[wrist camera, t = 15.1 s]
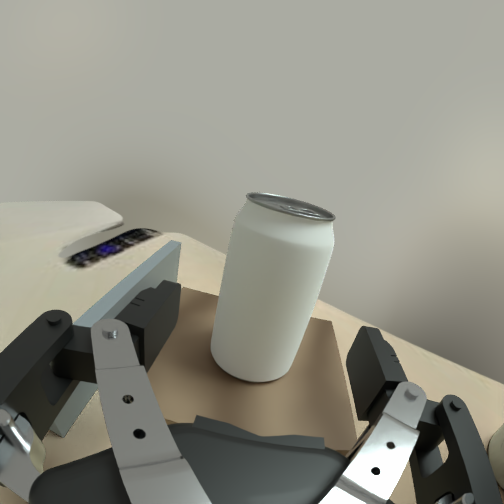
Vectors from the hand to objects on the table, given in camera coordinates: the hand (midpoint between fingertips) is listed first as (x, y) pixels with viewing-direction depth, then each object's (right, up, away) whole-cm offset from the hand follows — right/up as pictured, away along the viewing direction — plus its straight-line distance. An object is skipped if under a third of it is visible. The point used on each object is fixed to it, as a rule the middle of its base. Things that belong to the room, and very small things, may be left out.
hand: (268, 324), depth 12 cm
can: (-1, -5, +9) cm, 11 cm away
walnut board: (-1, -6, +10) cm, 12 cm away
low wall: (-11, -4, +9) cm, 15 cm away
